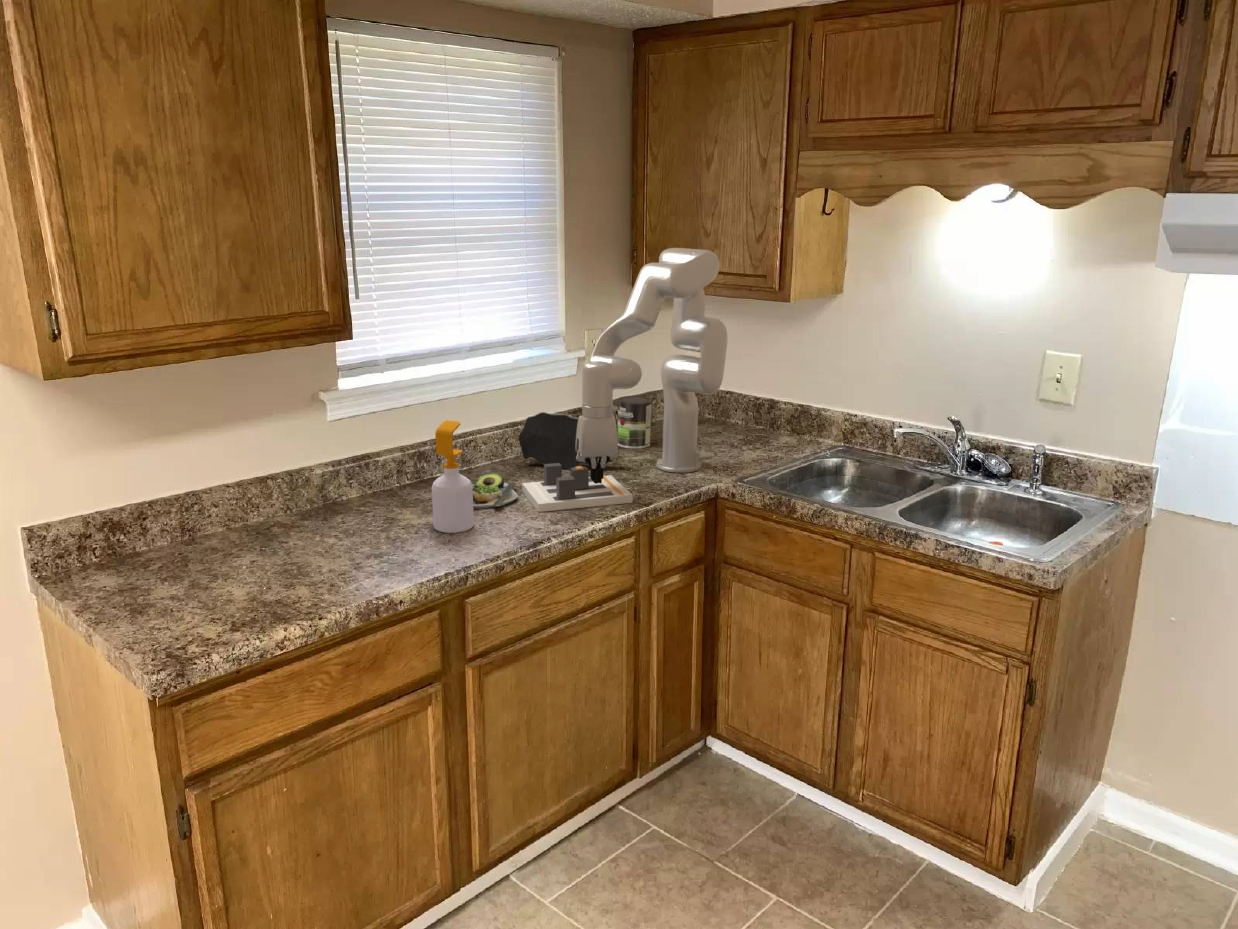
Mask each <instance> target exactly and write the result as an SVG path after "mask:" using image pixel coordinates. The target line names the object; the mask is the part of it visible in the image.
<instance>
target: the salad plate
mask: <svg viewBox="0 0 1238 929" xmlns="http://www.w3.org/2000/svg"><path fill="white" fill-rule="evenodd" d="M472 486H473V502H476V504H474V503H473V510H481V509H482V510H483V509H488V508H489V509H491V508H498V507H499V508H500V507H503V506H505V505H508V504H509V503H511V502H513V501H515V500H516V499H518V493H517V492H516V491H515V490H514V487H515V486H516V483H515V482H513V481H511V482H508V483H507V482H505V480H504V478H503V477H502V475H501V474H499V473H487V474H483V475H481V476H479V477H478V478H476V481H475V482H474V483H472Z"/></svg>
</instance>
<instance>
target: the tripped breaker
mask: <svg viewBox="0 0 1238 929" xmlns="http://www.w3.org/2000/svg"><path fill="white" fill-rule="evenodd" d="M589 471H590V468H588V467H587V466H582V465H576V466H575V467H574V468H571V469H570V476H572V477H573V478H574V479H575V490H576V489H586V488H589V477H590V474H589Z"/></svg>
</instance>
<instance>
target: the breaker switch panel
mask: <svg viewBox="0 0 1238 929" xmlns="http://www.w3.org/2000/svg"><path fill="white" fill-rule="evenodd" d="M562 469H563V468H562V465H561V464H560V463H552V464H543V481H531V482H530V481H529V482H522V483H521V490H522V492H523V494H524V495H525V496H526V498H527V499H528V500H529V501H530V503H531V504H532V505H533V506H534V508H535V510H536V511H537V512H538V513H541V512H543V513H544V512H550V511H551V512H552V511H553V512H554V511H561V510H573V509H580V508H583V509H584V508H591V507H600V506H602V507H603V506H611V505H620V504H630V503H633V501H634V499H633V496H634V495H633V494H632V493H631V492H630V491H629V490H628V489H627V488H626V487H624V486H623V485H622V484H621V483H620V482H619V481H618V480H617V479H616V478H615V477H613V476H612V475H611V474H610V475H603V479H602V483H597V484H595V483H594V482H593V481H592V480H591V478H590V476H589V488H586V489H576V490H575V479H574V478H573V477H572V476H571V475H570V476H563V474H562V472H563V471H562Z"/></svg>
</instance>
